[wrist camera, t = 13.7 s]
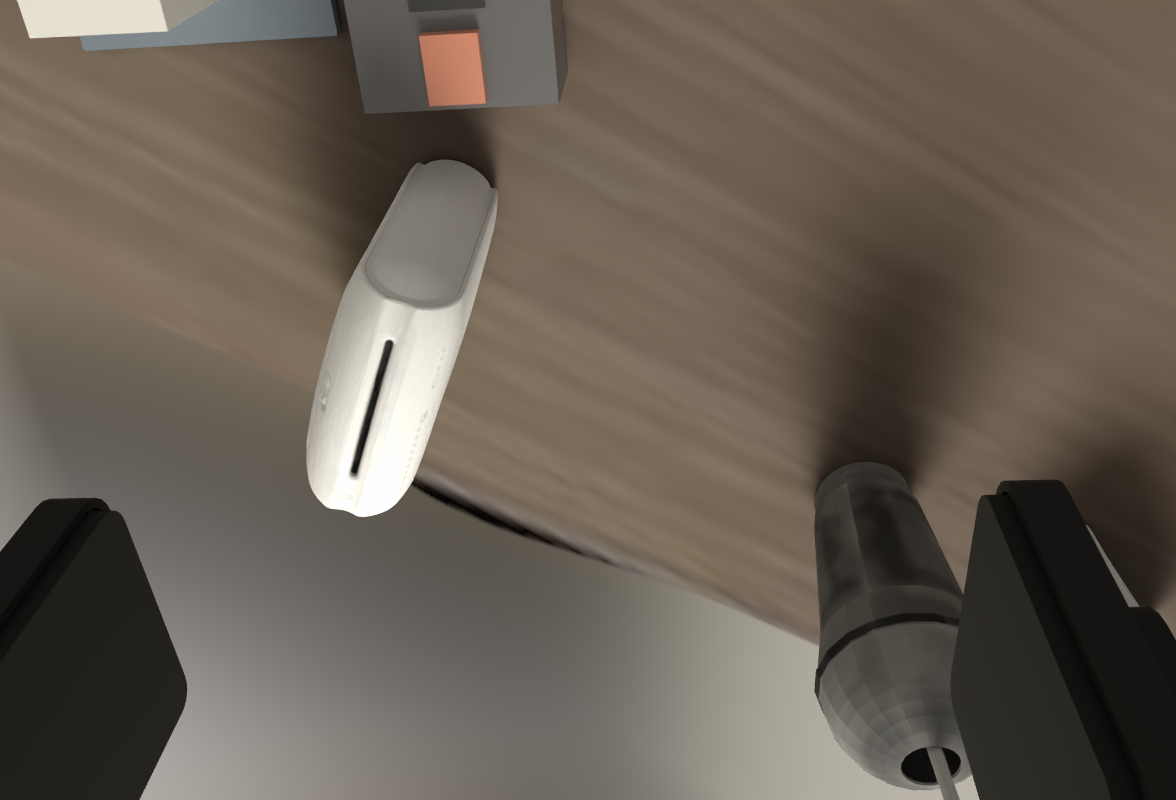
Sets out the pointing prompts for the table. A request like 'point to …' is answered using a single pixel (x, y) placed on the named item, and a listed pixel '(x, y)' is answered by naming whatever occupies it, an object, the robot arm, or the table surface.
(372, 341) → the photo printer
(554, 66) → the power strip
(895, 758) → the beverage cup
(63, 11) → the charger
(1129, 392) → the table surface
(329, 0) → the mat
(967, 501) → the table surface
